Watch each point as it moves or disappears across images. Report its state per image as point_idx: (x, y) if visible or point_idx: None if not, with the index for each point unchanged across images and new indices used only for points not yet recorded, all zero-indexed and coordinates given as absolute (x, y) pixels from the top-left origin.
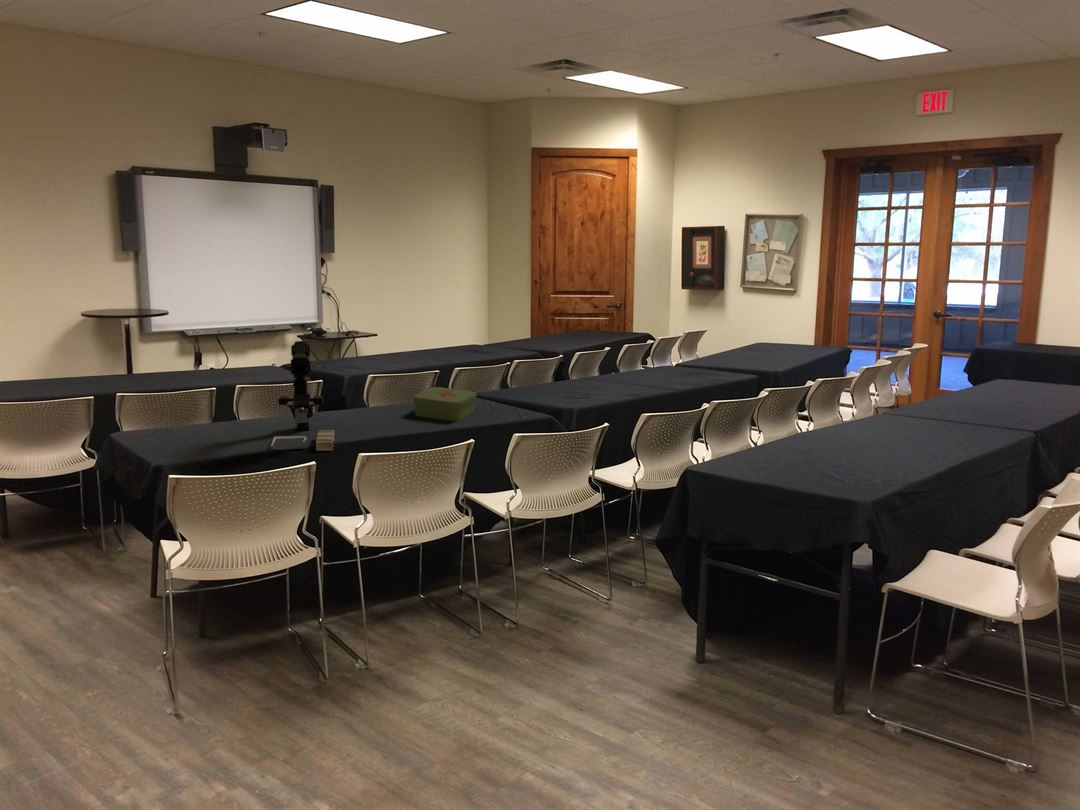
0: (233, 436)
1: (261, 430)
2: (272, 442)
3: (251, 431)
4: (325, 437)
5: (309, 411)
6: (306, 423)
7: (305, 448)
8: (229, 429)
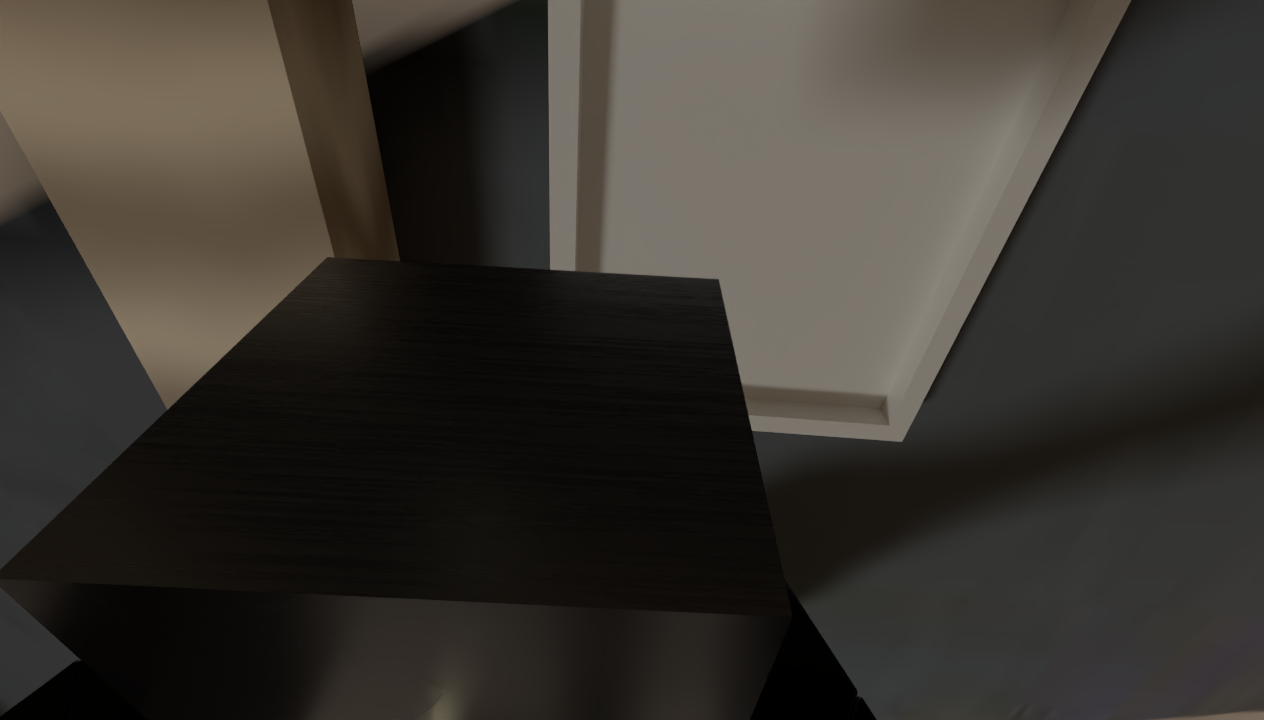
0: (1219, 528)
1: (924, 613)
2: (1005, 228)
3: (1007, 604)
4: (153, 140)
5: (40, 717)
6: None
7: (531, 8)
8: (1144, 645)
